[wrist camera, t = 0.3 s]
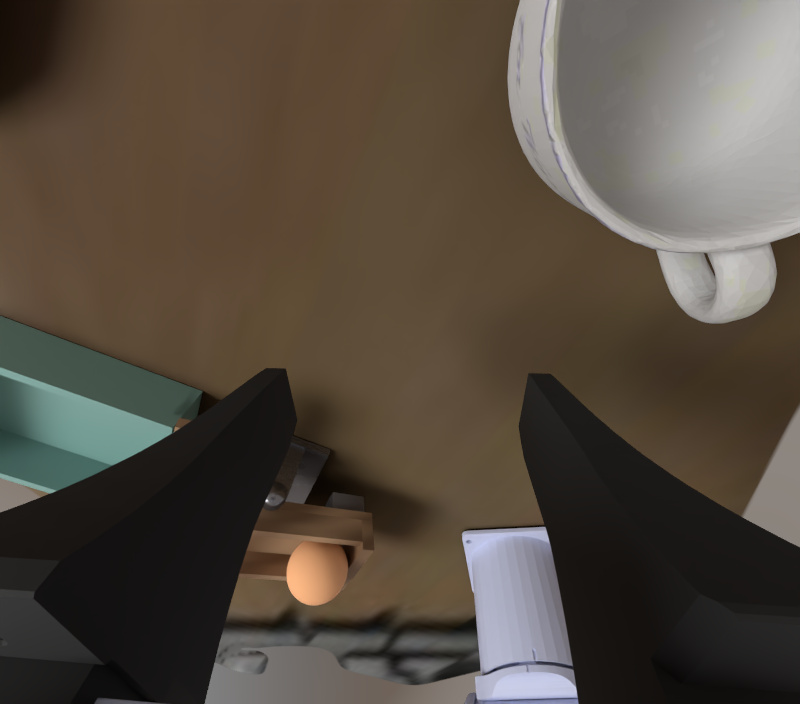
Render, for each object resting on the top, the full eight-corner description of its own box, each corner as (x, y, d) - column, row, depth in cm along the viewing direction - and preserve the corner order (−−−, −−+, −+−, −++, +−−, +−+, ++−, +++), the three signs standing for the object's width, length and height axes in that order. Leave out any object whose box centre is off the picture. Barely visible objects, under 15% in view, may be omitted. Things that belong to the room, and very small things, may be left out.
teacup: (492, -119, 13) (562, -387, 6) (871, -209, 11) (1554, -707, 4) (495, 278, 20) (527, 365, 13) (723, 255, 18) (893, 339, 12)
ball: (356, 549, 28) (353, 611, 25) (304, 557, 28) (294, 619, 25) (340, 520, 26) (334, 584, 22) (284, 529, 26) (270, 593, 23)
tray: (202, 391, 25) (145, 460, 20) (182, 486, 31) (133, 559, 26) (-48, 297, 23) (-185, 350, 18) (-20, 420, 29) (-118, 486, 24)
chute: (405, 441, 25) (414, 499, 22) (342, 535, 31) (342, 591, 28) (189, 395, 20) (159, 460, 17) (166, 515, 27) (141, 580, 23)
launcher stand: (330, 449, 28) (311, 513, 23) (295, 516, 32) (274, 580, 28) (264, 425, 27) (231, 486, 22) (238, 497, 31) (206, 560, 27)
